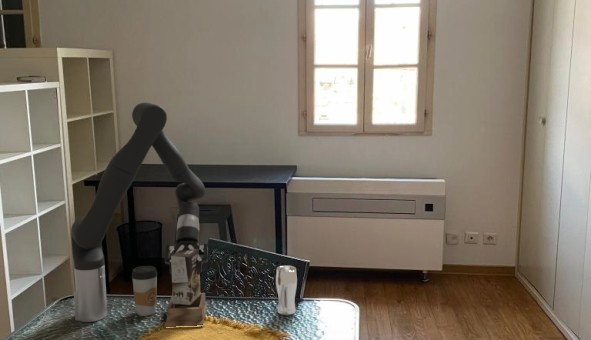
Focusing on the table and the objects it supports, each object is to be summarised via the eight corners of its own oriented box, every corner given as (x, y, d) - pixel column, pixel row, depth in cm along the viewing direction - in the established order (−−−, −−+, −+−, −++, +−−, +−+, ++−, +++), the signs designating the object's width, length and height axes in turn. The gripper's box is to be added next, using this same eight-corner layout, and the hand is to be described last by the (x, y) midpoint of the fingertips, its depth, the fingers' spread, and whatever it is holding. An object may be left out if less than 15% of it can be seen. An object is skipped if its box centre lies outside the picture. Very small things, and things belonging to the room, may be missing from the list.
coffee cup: (143, 319, 179) (141, 274, 177) (128, 313, 184) (125, 270, 182) (164, 311, 185) (162, 268, 183) (148, 305, 190) (146, 263, 188)
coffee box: (190, 305, 176) (188, 256, 174) (172, 304, 178) (169, 255, 175) (201, 295, 185) (199, 248, 183) (183, 293, 186) (181, 247, 184)
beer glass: (297, 307, 188) (297, 265, 186) (295, 316, 181) (295, 272, 179) (277, 307, 189) (277, 264, 187) (275, 315, 182) (274, 271, 180)
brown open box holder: (164, 328, 172) (163, 313, 171) (172, 304, 191) (172, 290, 191) (203, 327, 173) (202, 312, 172) (207, 303, 192) (207, 289, 192)
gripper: (165, 225, 185) (161, 269, 175) (208, 224, 186) (206, 268, 176) (168, 236, 191) (164, 280, 181) (209, 235, 192) (208, 278, 182)
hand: (185, 274), depth 179 cm, fingers closed on coffee box, 8 cm apart
